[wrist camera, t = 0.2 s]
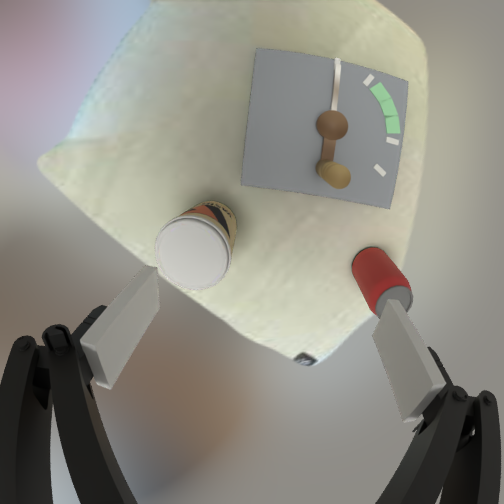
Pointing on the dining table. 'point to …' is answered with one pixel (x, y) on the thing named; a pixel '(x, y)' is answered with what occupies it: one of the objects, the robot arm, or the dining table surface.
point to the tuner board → (305, 131)
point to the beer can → (380, 280)
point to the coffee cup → (197, 246)
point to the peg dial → (332, 140)
